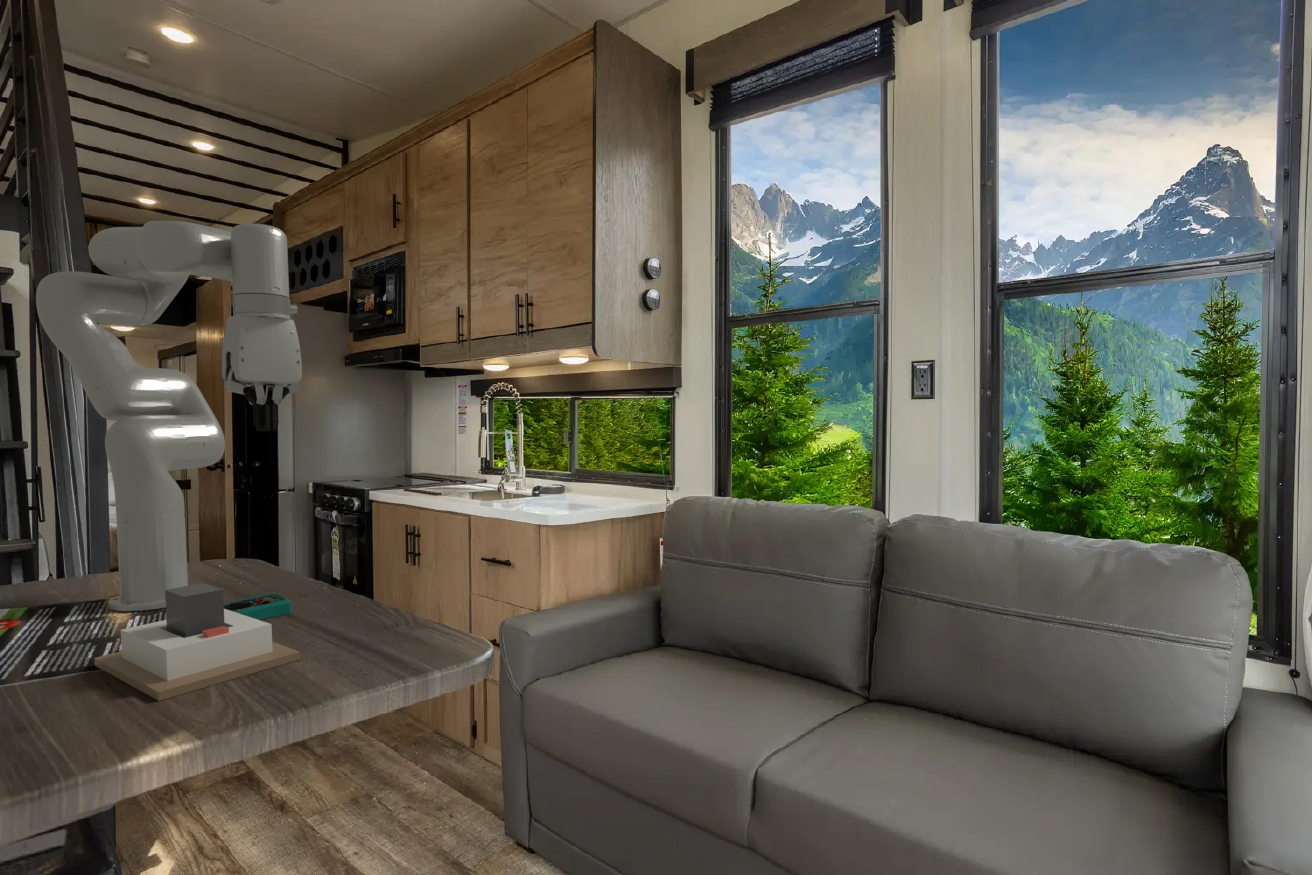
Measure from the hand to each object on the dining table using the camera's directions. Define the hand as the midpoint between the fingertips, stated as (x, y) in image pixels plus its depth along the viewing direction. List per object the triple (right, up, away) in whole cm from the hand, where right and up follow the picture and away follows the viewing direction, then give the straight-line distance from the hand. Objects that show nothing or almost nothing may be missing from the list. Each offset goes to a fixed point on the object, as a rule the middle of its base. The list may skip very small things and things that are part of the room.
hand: (266, 430), depth 111 cm
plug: (0, -29, -18) cm, 34 cm away
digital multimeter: (-6, -30, +2) cm, 30 cm away
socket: (+1, -30, -17) cm, 35 cm away
